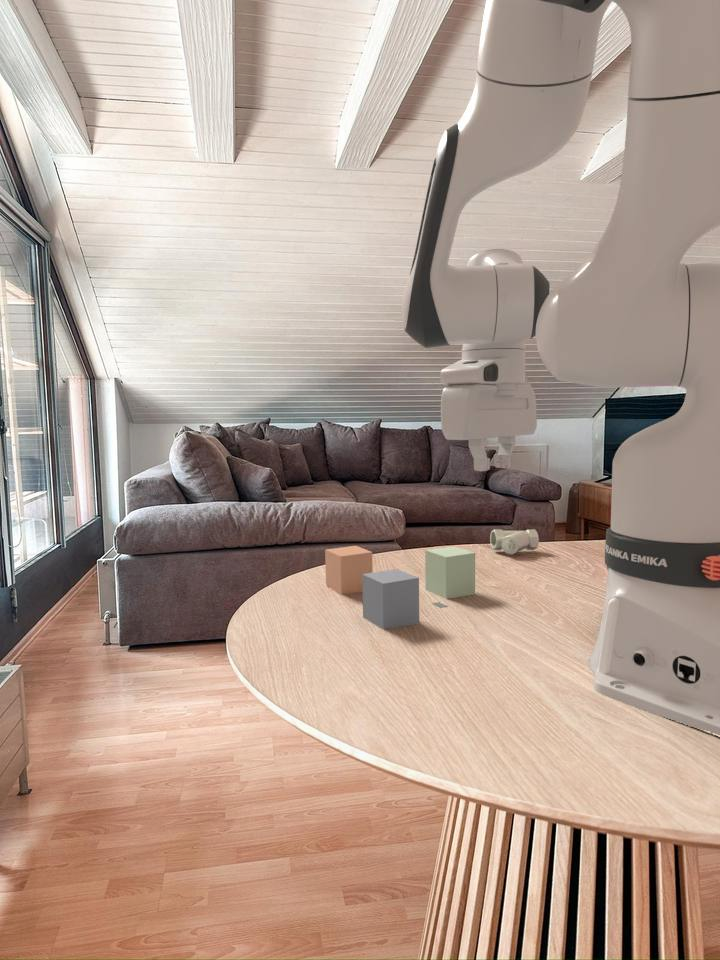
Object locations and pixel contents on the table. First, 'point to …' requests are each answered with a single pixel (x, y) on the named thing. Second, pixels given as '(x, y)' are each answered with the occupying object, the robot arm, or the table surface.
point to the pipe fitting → (514, 540)
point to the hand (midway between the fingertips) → (492, 469)
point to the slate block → (391, 598)
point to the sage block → (450, 572)
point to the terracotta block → (347, 568)
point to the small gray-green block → (439, 604)
